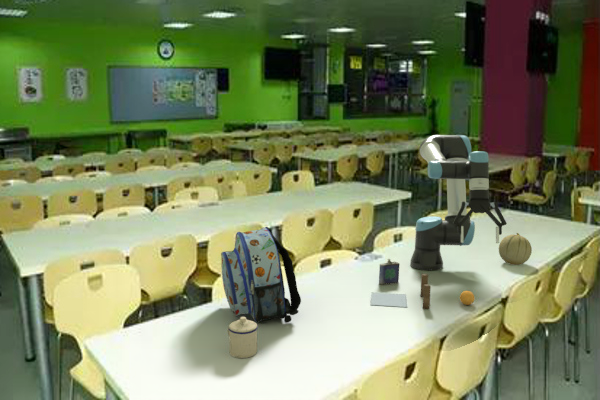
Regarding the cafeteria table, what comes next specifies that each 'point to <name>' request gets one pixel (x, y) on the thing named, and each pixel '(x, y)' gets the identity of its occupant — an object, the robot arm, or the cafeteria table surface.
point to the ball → (467, 297)
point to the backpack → (259, 277)
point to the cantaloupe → (515, 249)
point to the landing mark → (388, 299)
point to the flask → (389, 273)
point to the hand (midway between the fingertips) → (479, 243)
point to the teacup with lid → (243, 338)
